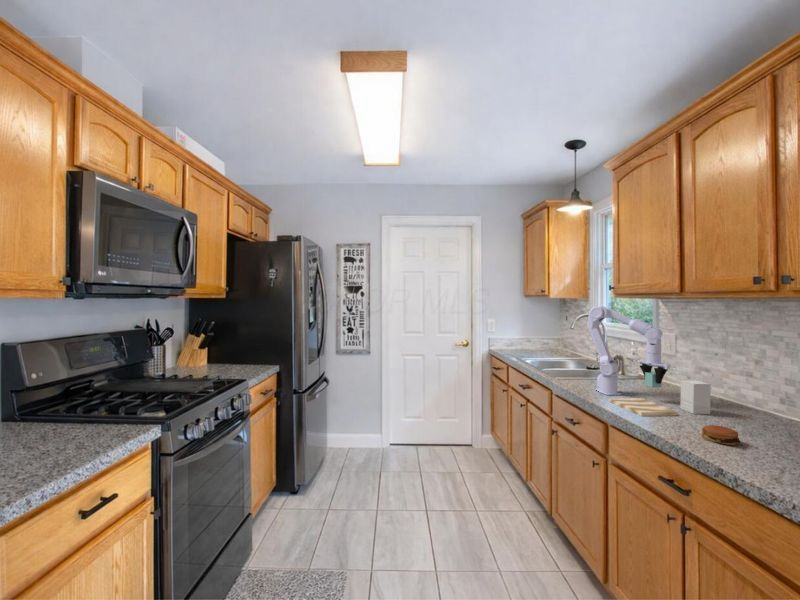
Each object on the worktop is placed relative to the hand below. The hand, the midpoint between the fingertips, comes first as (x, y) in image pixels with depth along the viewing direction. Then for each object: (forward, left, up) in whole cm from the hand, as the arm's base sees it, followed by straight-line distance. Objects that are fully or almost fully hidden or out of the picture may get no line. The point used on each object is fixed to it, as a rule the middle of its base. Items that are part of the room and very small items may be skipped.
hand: (653, 381), depth 170 cm
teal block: (0, 0, -2) cm, 2 cm away
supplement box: (+16, +6, -9) cm, 19 cm away
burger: (+47, -14, -9) cm, 50 cm away
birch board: (+11, -14, -9) cm, 20 cm away
